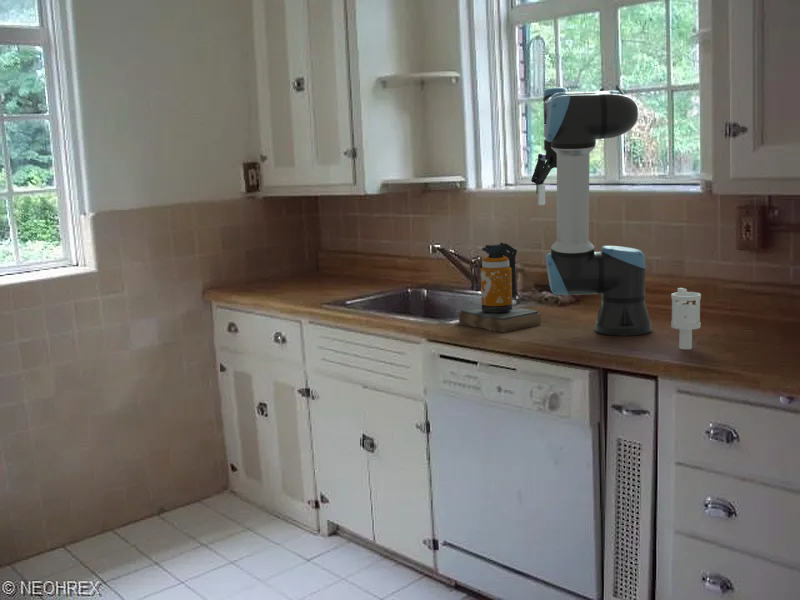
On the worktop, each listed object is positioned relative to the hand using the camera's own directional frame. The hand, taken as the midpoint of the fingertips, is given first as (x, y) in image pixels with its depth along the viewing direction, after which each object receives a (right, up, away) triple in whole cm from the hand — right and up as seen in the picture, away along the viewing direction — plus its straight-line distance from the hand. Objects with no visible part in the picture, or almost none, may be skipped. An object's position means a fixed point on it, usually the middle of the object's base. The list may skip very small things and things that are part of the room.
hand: (556, 205), depth 296 cm
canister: (-21, -33, -24) cm, 46 cm away
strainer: (+22, -42, -61) cm, 78 cm away
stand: (-21, -37, -23) cm, 48 cm away
